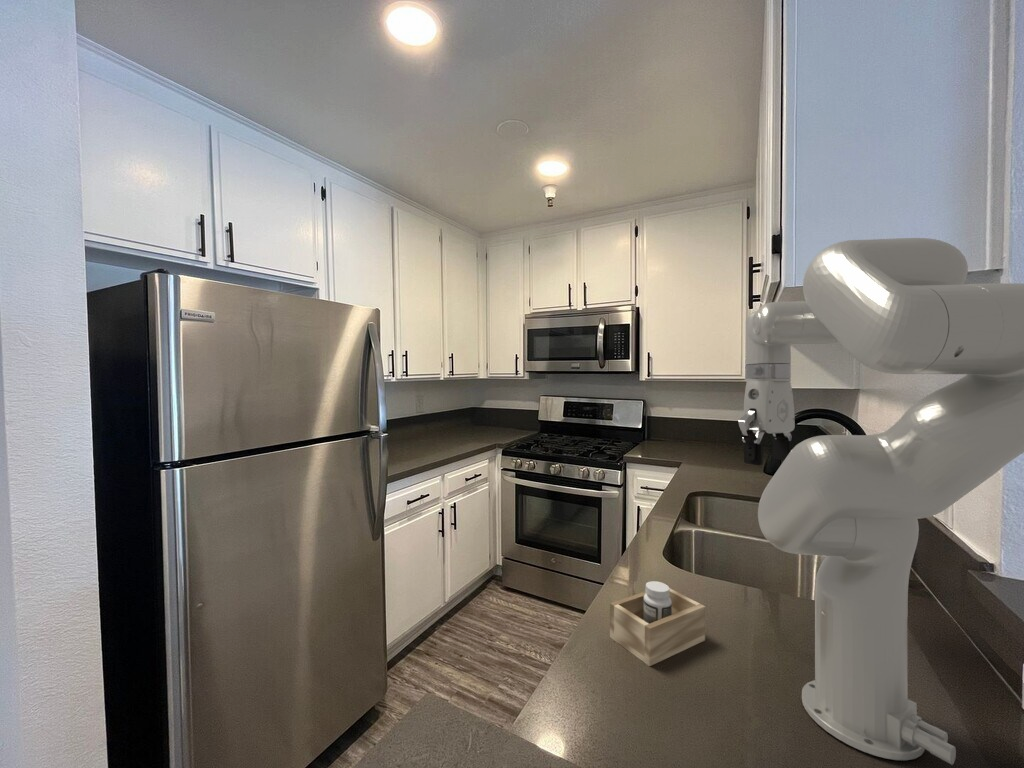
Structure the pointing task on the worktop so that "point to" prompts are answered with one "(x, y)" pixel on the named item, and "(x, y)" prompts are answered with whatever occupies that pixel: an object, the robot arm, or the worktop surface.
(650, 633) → the open wooden box
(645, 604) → the pill bottle
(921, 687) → the worktop surface
